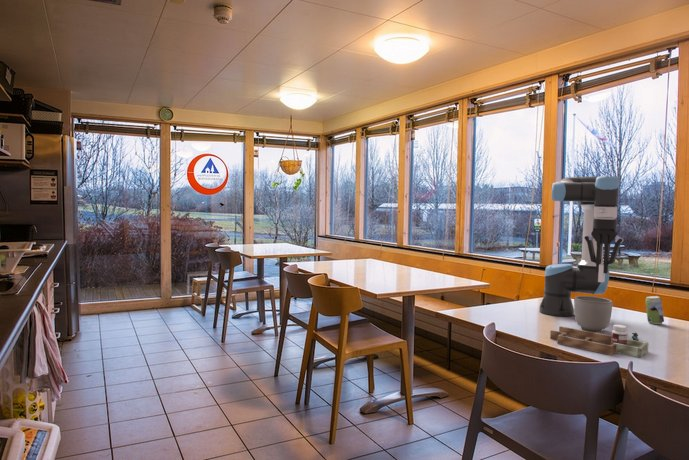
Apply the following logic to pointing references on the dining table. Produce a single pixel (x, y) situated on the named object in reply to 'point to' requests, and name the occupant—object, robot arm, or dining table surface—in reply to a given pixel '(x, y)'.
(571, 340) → the open divided box
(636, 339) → the sculpture
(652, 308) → the beverage can
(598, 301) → the planter
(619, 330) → the pill bottle
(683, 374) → the dining table surface
